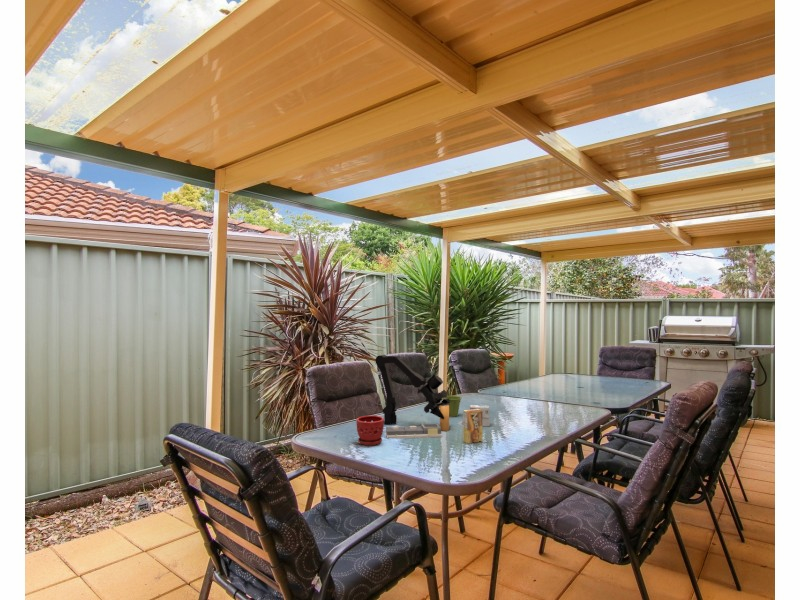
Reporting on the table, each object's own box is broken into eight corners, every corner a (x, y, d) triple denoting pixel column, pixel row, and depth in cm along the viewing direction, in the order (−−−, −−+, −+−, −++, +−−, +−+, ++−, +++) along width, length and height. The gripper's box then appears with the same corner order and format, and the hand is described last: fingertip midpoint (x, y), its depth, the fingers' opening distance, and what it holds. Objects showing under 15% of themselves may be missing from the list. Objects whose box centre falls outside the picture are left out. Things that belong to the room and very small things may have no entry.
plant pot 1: (352, 441, 221) (352, 417, 221) (376, 438, 227) (376, 414, 228) (363, 448, 209) (363, 422, 210) (388, 444, 216) (388, 419, 217)
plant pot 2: (441, 417, 275) (441, 398, 275) (443, 413, 287) (443, 395, 287) (461, 418, 273) (461, 399, 273) (462, 414, 285) (461, 395, 285)
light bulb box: (488, 424, 258) (488, 404, 258) (490, 426, 251) (489, 407, 252) (469, 423, 259) (469, 404, 259) (470, 426, 252) (470, 406, 253)
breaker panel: (387, 438, 226) (387, 429, 226) (385, 432, 238) (385, 424, 238) (442, 437, 229) (442, 428, 229) (437, 431, 241) (437, 422, 241)
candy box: (477, 439, 225) (477, 408, 225) (483, 441, 221) (482, 409, 221) (462, 441, 221) (462, 409, 221) (467, 443, 217) (467, 411, 218)
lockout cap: (440, 431, 241) (440, 406, 242) (439, 428, 246) (438, 404, 247) (450, 430, 242) (449, 405, 242) (448, 428, 247) (447, 404, 247)
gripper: (428, 387, 240) (445, 411, 233) (447, 383, 255) (464, 405, 247) (416, 401, 245) (433, 424, 238) (436, 396, 259) (452, 418, 252)
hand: (446, 417), depth 244 cm, fingers closed on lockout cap, 5 cm apart
